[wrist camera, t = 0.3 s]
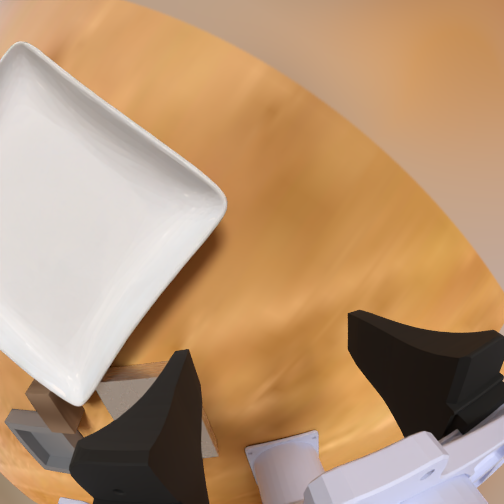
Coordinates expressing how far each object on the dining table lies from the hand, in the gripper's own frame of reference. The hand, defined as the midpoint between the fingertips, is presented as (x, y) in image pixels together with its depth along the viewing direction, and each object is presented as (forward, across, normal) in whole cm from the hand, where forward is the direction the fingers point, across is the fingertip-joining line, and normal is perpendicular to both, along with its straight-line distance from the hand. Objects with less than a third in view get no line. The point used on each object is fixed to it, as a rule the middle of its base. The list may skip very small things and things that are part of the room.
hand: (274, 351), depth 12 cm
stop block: (+9, +20, +8) cm, 23 cm away
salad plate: (+9, +15, -7) cm, 19 cm away
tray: (+9, +25, +16) cm, 31 cm away
